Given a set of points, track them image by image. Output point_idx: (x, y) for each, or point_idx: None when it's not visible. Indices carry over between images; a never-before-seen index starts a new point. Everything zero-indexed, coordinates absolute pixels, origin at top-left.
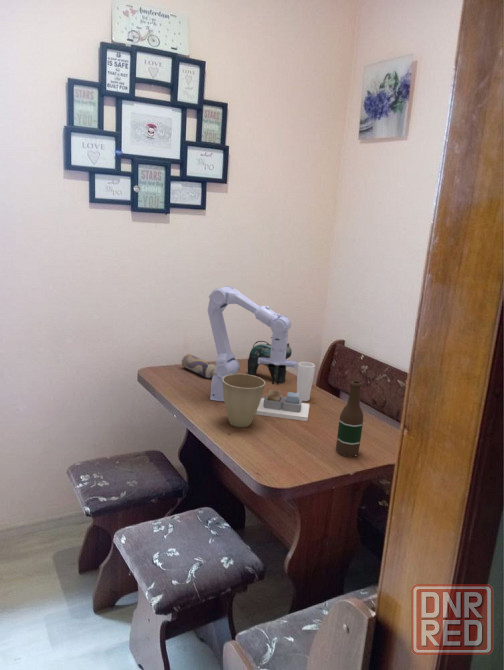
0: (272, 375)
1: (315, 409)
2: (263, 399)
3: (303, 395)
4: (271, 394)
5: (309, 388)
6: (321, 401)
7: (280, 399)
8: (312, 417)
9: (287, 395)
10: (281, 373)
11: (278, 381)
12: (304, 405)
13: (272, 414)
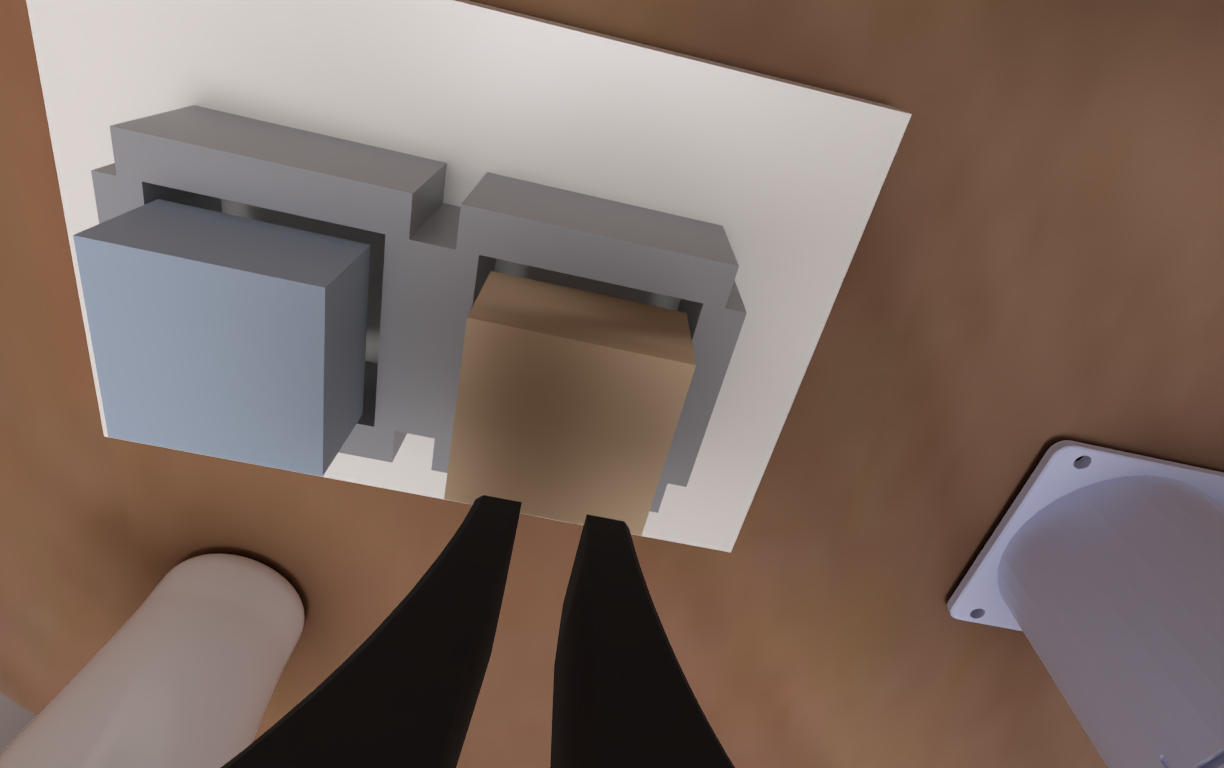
0: (650, 708)
1: (50, 365)
2: (685, 502)
3: (192, 602)
4: (630, 345)
5: (66, 684)
6: (39, 572)
7: None
8: (22, 86)
9: (311, 309)
10: (267, 765)
11: (460, 544)
12: None
13: (616, 40)
